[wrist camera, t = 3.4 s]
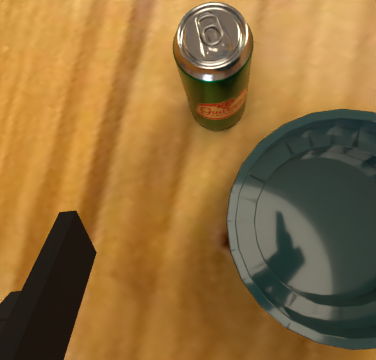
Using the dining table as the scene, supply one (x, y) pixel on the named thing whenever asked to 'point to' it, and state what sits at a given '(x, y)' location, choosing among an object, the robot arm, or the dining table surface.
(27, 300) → the robot arm
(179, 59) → the soda can
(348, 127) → the glazed bowl
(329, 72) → the dining table surface
